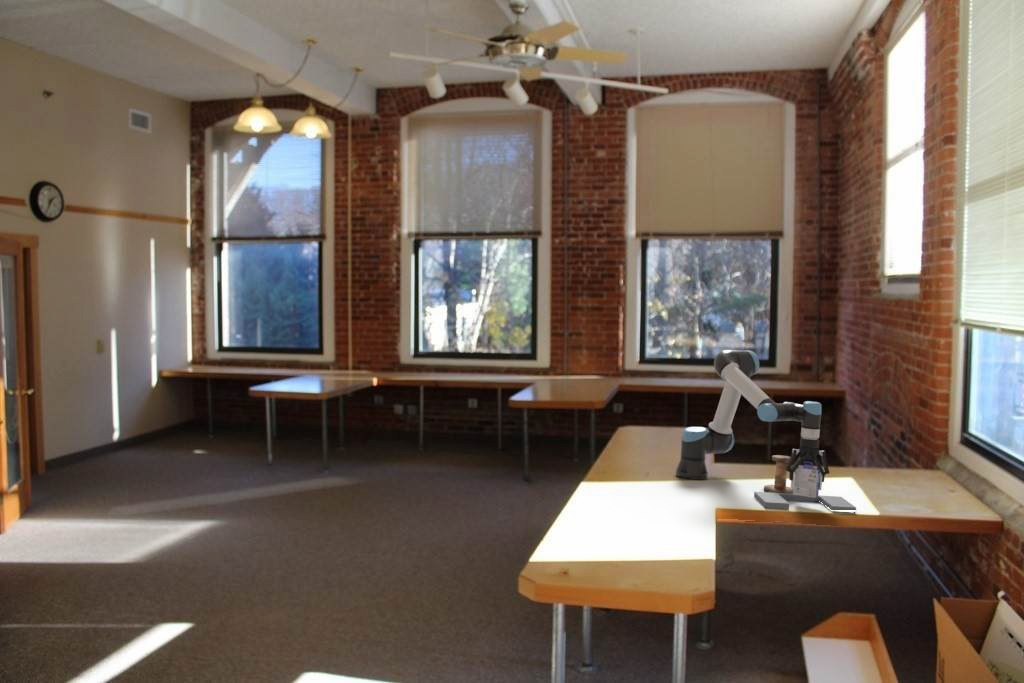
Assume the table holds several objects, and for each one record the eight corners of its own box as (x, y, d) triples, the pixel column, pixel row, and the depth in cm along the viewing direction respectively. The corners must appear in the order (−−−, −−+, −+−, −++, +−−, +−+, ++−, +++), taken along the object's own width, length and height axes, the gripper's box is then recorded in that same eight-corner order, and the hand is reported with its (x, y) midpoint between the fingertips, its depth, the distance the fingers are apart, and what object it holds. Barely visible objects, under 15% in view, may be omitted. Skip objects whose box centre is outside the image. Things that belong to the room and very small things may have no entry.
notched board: (765, 508, 366) (765, 502, 366) (753, 497, 384) (754, 491, 384) (855, 513, 366) (856, 507, 365) (840, 502, 384) (840, 496, 383)
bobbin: (768, 494, 390) (771, 459, 389) (760, 487, 404) (762, 453, 403) (799, 496, 390) (802, 461, 389) (790, 489, 404) (793, 455, 403)
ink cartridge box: (818, 496, 373) (821, 462, 372) (816, 498, 369) (818, 464, 368) (795, 492, 378) (797, 459, 377) (792, 494, 373) (794, 461, 372)
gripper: (785, 438, 368) (781, 489, 370) (840, 441, 368) (836, 492, 369) (780, 434, 376) (776, 485, 377) (834, 437, 375) (830, 488, 377)
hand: (805, 488), depth 373 cm, fingers closed on ink cartridge box, 11 cm apart
